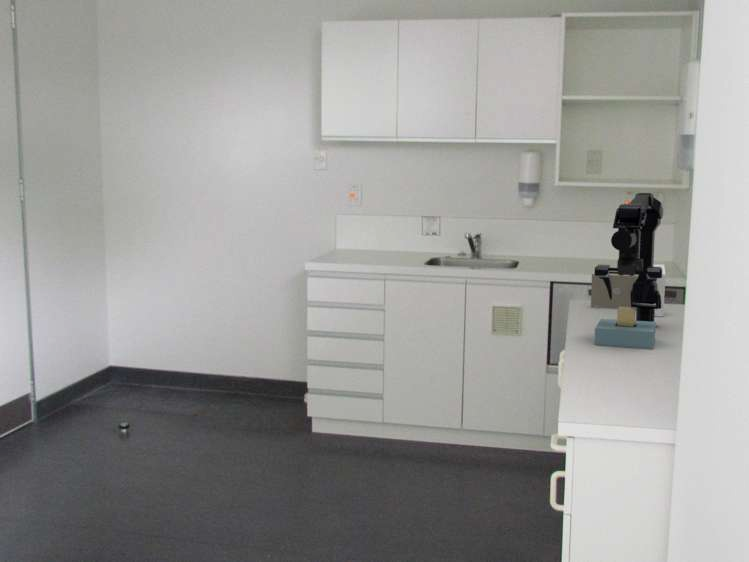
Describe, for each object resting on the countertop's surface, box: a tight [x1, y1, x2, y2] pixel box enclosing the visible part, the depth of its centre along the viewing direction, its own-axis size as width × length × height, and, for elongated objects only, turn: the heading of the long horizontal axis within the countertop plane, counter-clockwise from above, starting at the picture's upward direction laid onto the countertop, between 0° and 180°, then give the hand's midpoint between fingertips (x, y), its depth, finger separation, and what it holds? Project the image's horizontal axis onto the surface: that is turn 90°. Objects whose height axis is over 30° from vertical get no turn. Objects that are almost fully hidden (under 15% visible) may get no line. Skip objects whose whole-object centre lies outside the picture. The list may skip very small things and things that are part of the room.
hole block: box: [594, 318, 657, 350], centre depth 233 cm, size 16×16×5 cm
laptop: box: [590, 273, 640, 312], centre depth 292 cm, size 18×12×13 cm
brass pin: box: [616, 307, 636, 327], centre depth 232 cm, size 5×5×9 cm
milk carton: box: [640, 261, 666, 317], centre depth 275 cm, size 7×7×19 cm
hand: (627, 300), depth 232 cm, fingers open, 9 cm apart
